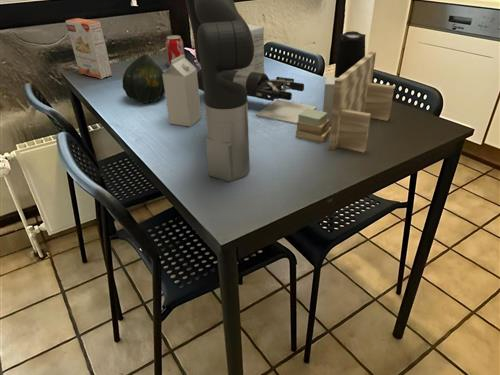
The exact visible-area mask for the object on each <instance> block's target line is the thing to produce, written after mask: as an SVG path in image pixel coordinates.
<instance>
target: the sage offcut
mask: <svg viewBox="0 0 500 375" xmlns="http://www.w3.org/2000/svg"><path fill="white" fill-rule="evenodd" d="M326 120H327V113H326V112H323V110H316V109H315V110H313V109H308V108H307V109H306V110H304V111H303V112H302V113H300V114H299V115H298V122H302V123H306V124H310V125H314V126H318V127H319V126H320V125H321V124H322V123H324V122H325V121H326Z"/></svg>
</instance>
